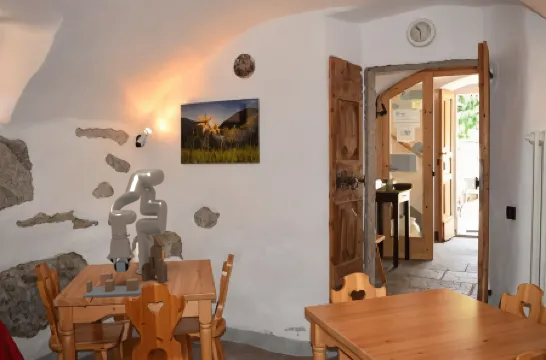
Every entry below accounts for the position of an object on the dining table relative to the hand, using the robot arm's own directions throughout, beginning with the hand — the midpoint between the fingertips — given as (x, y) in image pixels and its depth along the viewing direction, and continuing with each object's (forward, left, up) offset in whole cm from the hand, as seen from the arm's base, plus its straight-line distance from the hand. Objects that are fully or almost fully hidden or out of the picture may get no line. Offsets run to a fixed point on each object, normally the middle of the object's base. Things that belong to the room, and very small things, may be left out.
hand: (121, 270), depth 274 cm
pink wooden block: (-5, -9, -9) cm, 14 cm away
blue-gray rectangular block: (-5, 0, 0) cm, 5 cm away
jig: (+12, -1, -9) cm, 14 cm away
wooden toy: (-9, +16, -9) cm, 20 cm away
